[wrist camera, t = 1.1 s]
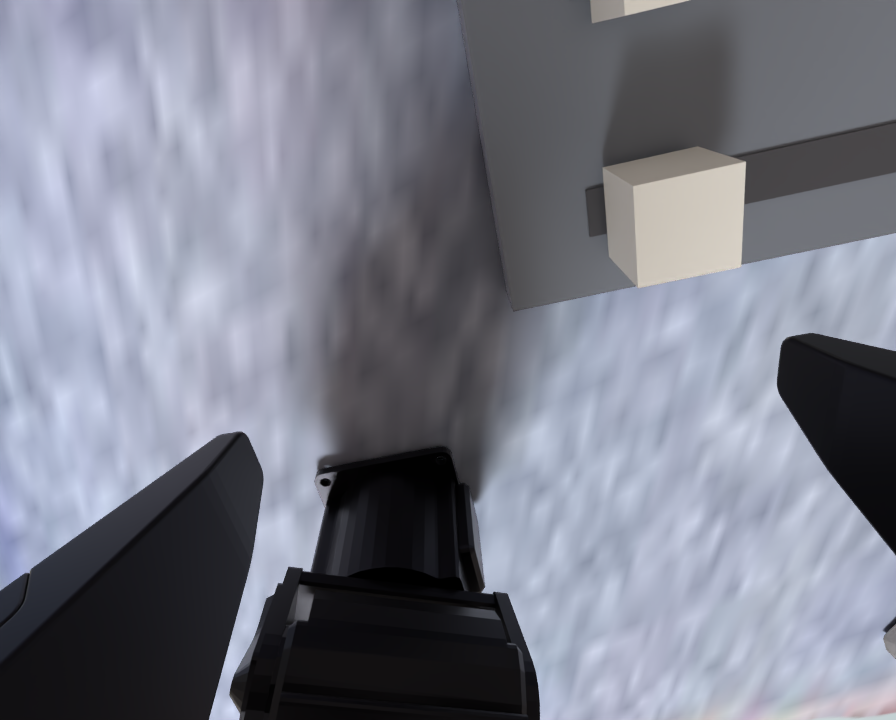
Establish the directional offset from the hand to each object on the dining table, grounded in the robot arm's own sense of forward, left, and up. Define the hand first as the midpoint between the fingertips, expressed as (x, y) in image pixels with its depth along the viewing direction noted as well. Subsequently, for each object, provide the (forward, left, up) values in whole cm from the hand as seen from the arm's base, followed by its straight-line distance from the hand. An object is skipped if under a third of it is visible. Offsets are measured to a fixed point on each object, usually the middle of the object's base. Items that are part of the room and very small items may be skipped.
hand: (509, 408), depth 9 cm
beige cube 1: (+6, 0, -10) cm, 12 cm away
